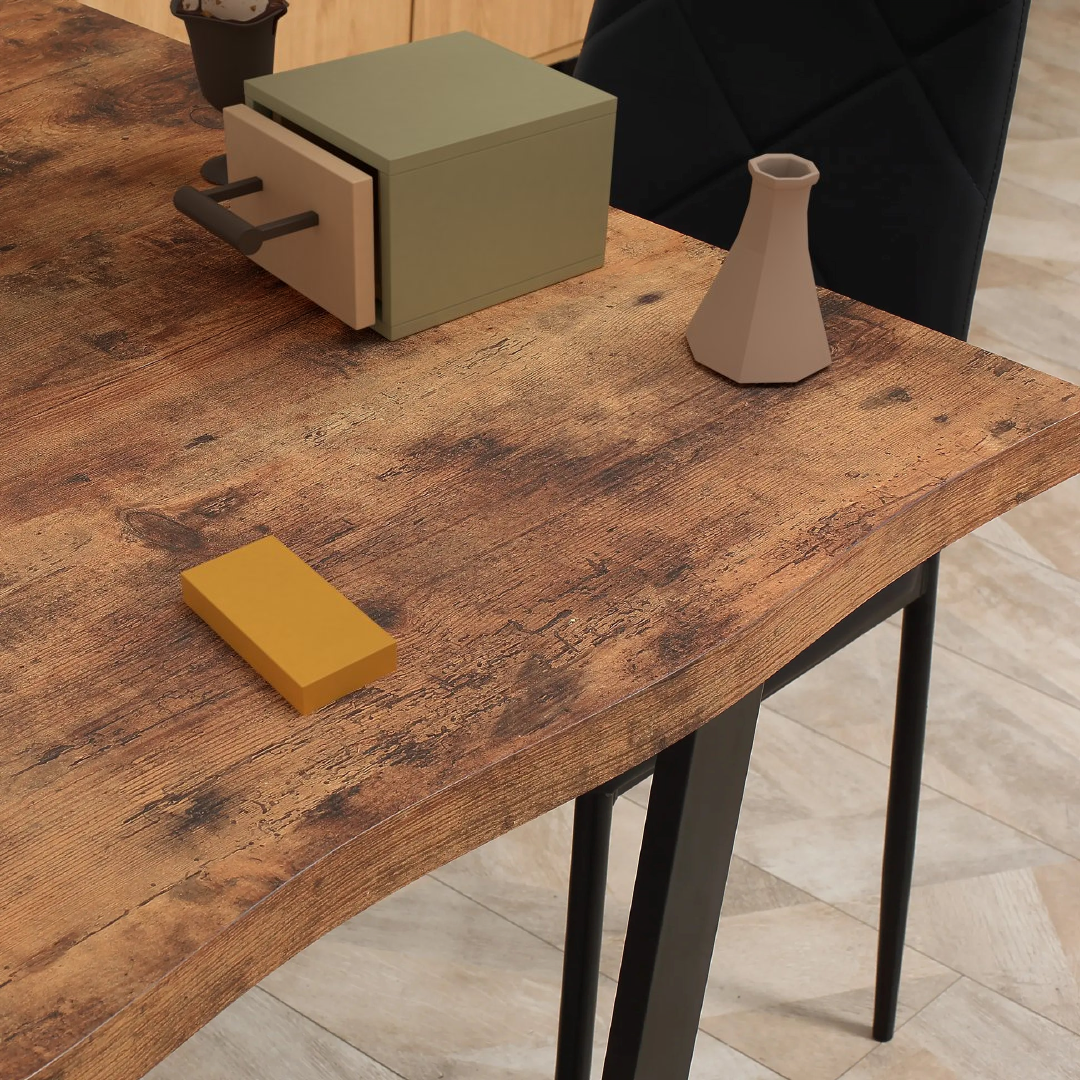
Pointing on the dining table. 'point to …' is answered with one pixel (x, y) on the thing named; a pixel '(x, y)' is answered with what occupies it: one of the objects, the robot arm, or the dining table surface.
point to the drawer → (297, 212)
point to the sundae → (229, 52)
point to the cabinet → (462, 168)
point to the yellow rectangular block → (289, 623)
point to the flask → (766, 285)
